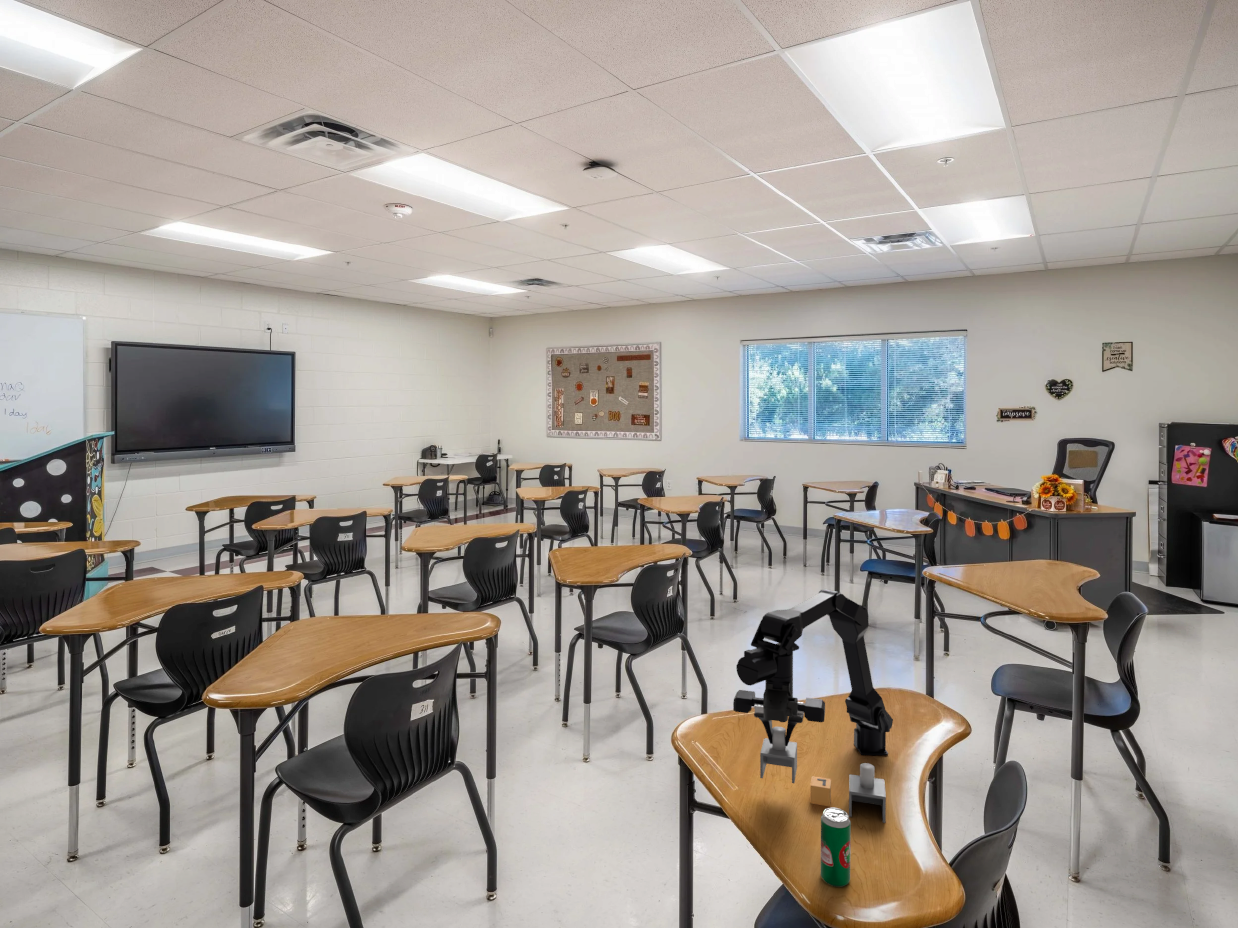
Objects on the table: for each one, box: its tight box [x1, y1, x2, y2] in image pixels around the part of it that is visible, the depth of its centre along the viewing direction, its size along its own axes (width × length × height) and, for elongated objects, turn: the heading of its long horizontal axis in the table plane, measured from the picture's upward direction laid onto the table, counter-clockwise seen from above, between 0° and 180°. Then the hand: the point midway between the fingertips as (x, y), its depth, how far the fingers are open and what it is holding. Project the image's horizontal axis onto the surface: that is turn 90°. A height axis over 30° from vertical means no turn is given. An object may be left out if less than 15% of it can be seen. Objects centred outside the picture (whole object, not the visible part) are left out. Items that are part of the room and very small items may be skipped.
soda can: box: [820, 807, 852, 888], centre depth 121 cm, size 5×5×12 cm
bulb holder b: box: [759, 726, 798, 784], centre depth 146 cm, size 7×7×10 cm
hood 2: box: [848, 762, 887, 824], centre depth 142 cm, size 7×7×10 cm
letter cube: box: [809, 775, 832, 807], centre depth 146 cm, size 4×4×4 cm
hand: (779, 744), depth 146 cm, fingers closed on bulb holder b, 3 cm apart
